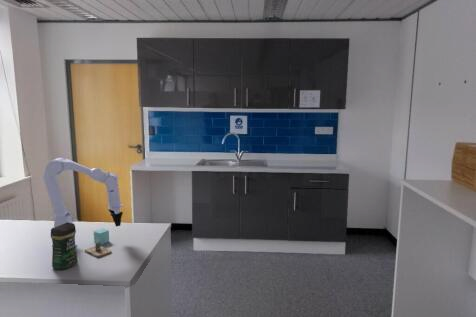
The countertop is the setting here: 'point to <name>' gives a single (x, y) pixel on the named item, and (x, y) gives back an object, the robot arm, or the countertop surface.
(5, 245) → the countertop surface
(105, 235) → the teal matte cube
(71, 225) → the coffee jar
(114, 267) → the countertop surface
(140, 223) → the countertop surface
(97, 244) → the brown rectangular board
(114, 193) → the robot arm
